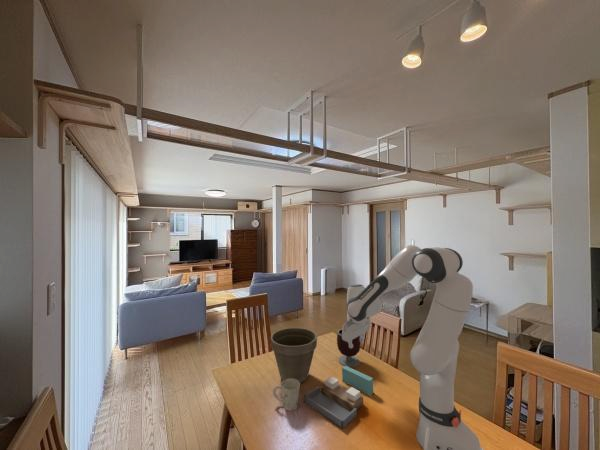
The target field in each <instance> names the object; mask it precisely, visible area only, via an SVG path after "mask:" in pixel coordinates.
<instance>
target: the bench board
mask: <svg viewBox="0 0 600 450" xmlns="http://www.w3.org/2000/svg"><path fill="white" fill-rule="evenodd" d="M348 389H349V388H348V387H346V386H344V385H342V384H341V383H339V385H338V386H337V387H336V388H334V389H331V388H329V387H327V386H326V385H325V384H323V385H322V386H320V390H321V391H320V393H322V394H324V395H325V396H327V397H329V398H330V399H332V400H334V401H335V402H337V403H338V404H340V405H342V406H343V407H345V408H347V409H348V410H350V411H352V410H353V409H354V408H356V409H357V411H358V410H359V409H360V408H361V407H362V406H363V405H364V396H363V395H361V394H360V398H359V399H357V400H356V401H355V402H354V401H352V400H350V399H348V398H347V397H346V391H347V390H348Z"/></svg>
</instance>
